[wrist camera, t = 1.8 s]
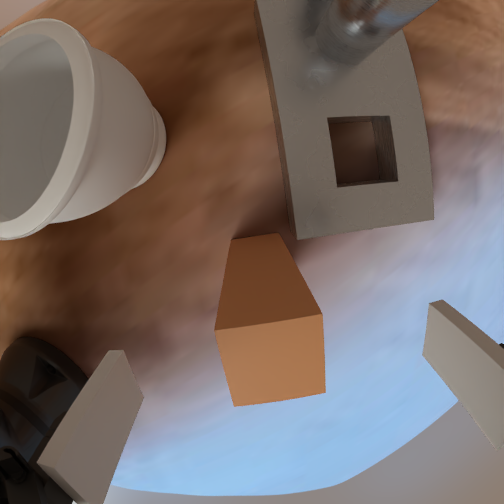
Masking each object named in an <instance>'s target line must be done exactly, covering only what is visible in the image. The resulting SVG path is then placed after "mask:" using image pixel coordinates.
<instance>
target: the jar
mask: <svg viewBox="0 0 504 504" xmlns="http://www.w3.org/2000/svg"><path fill="white" fill-rule="evenodd" d="M165 147H166V130H165V126H164V123H163V120H162V118H161V116H160V114H159V113H158V111H157V110H156V109H155V108H154V107H153V106H152V104H151V102H150V100H149V99H148V97H147V96H146V94H145V92H144V90H143V88H142V86H141V85H140V83H139V82H138V81H137V79H136V78H135V77H134V76H133V74H132V73H131V72H130V71H129V70H128V69H127V68H126V67H125V66H124V65H122V64H121V63H120V62H119V61H117V60H116V59H114V58H113V57H111V56H110V55H108V54H106V53H105V52H103V51H101V50H99V49H96V48H94V47H92V46H91V45H90V43H89V42H88V41H87V39H86V38H85V37H84V36H83V35H82V34H81V33H80V32H79V31H78V30H76V29H75V28H73V27H71V26H70V25H69V24H67V23H65V22H63V21H60V20H56V19H50V18H43V19H36V20H32V21H28V22H25V23H23V24H21V25H19V26H17V27H15V28H13V29H11V30H10V31H8V32H7V33H5V34H4V35H3V36H2V37H0V240H12V239H17V238H22V237H26V236H29V235H31V234H33V233H35V232H37V231H39V230H41V229H42V228H44V227H45V226H46V225H48V224H50V223H59V222H65V221H70V220H74V219H78V218H81V217H84V216H87V215H90V214H92V213H95V212H97V211H99V210H101V209H103V208H105V207H106V206H108V205H110V204H111V203H113V202H114V201H116V200H117V199H118V198H120V197H121V196H122V195H124V194H125V193H127V192H128V191H130V190H131V189H133V188H135V187H138V186H139V185H141V184H143V183H144V182H145V181H147V180H148V179H149V178H150V177H151V176H152V175H153V174H154V172H155V171H156V170H157V168H158V167H159V165H160V163H161V161H162V158H163V156H164V152H165Z"/></svg>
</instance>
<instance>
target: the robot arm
mask: <svg viewBox="0 0 504 504" xmlns="http://www.w3.org/2000/svg"><path fill="white" fill-rule="evenodd" d="M422 355H423V357H424V358H425V359H426V360H427V361H428V363H429V364H430V365H431V366H432V367H433V369H434V370H435V371H436V372H437V374H438V375H439V376H440V377H441V378H442V380H443V381H444V382H445V383H446V385H447V386H448V387H449V388H450V390H451V391H452V392H453V394H454V395H455V396H456V397H457V399H458V400H459V401H460V402H461V404H462V405H463V406H464V408H465V409H466V410H467V412H468V413H469V414H470V416H471V417H472V418H473V420H474V421H475V422H476V424H477V425H478V426H479V428H480V429H481V430H482V432H483V433H484V435H485V436H486V437H487V439H488V440H489V441H490V443H491V444H492V446H493V447H494V449H495V450H496V451H498V450H499V449H501V448H502V447H504V344H502V343H501V344H499V345H498V344H497V343H496V342H495V341H494V340H492V339H491V338H490V337H489V336H488V335H487V334H485V333H484V332H483V331H482V330H480V329H479V328H478V327H477V326H476V325H474V324H473V323H472V322H471V321H469V320H468V319H467V318H466V317H464V316H463V315H462V314H461V313H459V312H458V311H457V310H455V309H454V308H453V307H452V306H450V305H449V304H448V303H446V302H445V301H444V300H439V301H436V302H432V303H429V309H428V318H427V327H426V334H425V341H424V348H423V354H422ZM143 399H144V397H143V395H142V392H141V390H140V388H139V386H138V384H137V381H136V379H135V377H134V374H133V372H132V370H131V367H130V365H129V363H128V360H127V358H126V355H125V353H124V350H109V351H108V352H107V354H106V355H105V356H104V358H103V359H102V361H101V362H100V364H99V365H98V367H97V368H96V369H95V371H94V372H93V374H92V375H91V377H90V378H89V380H88V379H87V377H86V376H85V375H84V373H83V372H82V371H81V370H80V369H79V368H78V366H77V365H76V364H75V363H74V362H73V361H72V360H70V359H69V358H68V357H67V356H66V355H65V354H63V353H62V352H61V351H59V350H58V349H57V348H55V347H54V346H52V345H50V344H48V343H46V342H44V341H42V340H40V339H36V338H32V337H21V338H19V339H17V340H15V341H14V342H13V343H12V344H11V345H10V346H9V347H8V348H7V349H6V350H5V351H4V353H3V355H2V358H1V360H0V504H72V502H73V500H74V501H75V502H76V503H77V504H103V503H104V500H105V497H106V494H107V492H108V489H109V486H110V483H111V481H112V478H113V475H114V472H115V470H116V467H117V464H118V462H119V459H120V457H121V454H122V451H123V449H124V446H125V444H126V441H127V439H128V436H129V433H130V431H131V428H132V426H133V423H134V421H135V418H136V416H137V413H138V411H139V409H140V406H141V404H142V401H143Z"/></svg>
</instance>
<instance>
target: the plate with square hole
mask: <svg viewBox="0 0 504 504" xmlns="http://www.w3.org/2000/svg"><path fill="white" fill-rule="evenodd" d="M437 1H439V0H255V4H254V17H255V21H256V26H257V31H258V36H259V41H260V46H261V51H262V56H263V61H264V67H265V72H266V77H267V83H268V88H269V94H270V100H271V105H272V111H273V117H274V123H275V129H276V135H277V142H278V148H279V154H280V161H281V167H282V174H283V181H284V188H285V195H286V202H287V210H288V217H289V225H290V231H291V232H292V234H293V235H294V236H295V238H296V239H297V240H301V239H308V238H314V237H321V236H327V235H334V234H341V233H347V232H354V231H360V230H367V229H374V228H381V227H387V226H394V225H401V224H407V223H414V222H421V221H428V220H434V202H433V185H432V173H431V162H430V153H429V145H428V138H427V131H426V125H425V119H424V113H423V108H422V102H421V97H420V93H419V88H418V84H417V79H416V75H415V71H414V67H413V63H412V60H411V56H410V52H409V49H408V45H407V42H406V39H405V36H404V33H403V30H402V28H403V27H404V26H406V25H407V24H408V23H410V22H411V21H412V20H413V19H415V18H416V17H417V16H419V15H420V14H421V13H422V12H424V11H425V10H426V9H428V8H429V7H430V6H432V5H433V4H434V3H436V2H437ZM347 122H372V124H373V130H374V137H375V144H376V151H377V158H378V167H379V175H380V180H371V181H360V182H351V183H342V184H337V183H336V175H335V167H334V160H333V153H332V146H331V139H330V133H329V127H328V124H330V123H347Z"/></svg>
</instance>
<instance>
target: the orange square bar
mask: <svg viewBox="0 0 504 504" xmlns="http://www.w3.org/2000/svg"><path fill="white" fill-rule="evenodd" d="M214 332H215V336H216V340H217V344H218V348H219V352H220V356H221V360H222V364H223V367H224V371H225V375H226V379H227V383H228V386H229V390H230V394H231V397H232V401H233V405H234V407H235V406H245V405H254V404H261V403H269V402H276V401H282V400H289V399H295V398H300V397H306V396H311V395H316V394H321V393H326V388H325V355H324V333H323V315H322V312H321V310H320V308H319V306H318V304H317V303H316V301H315V299H314V297H313V295H312V293H311V291H310V289H309V288H308V286H307V284H306V282H305V280H304V278H303V276H302V275H301V273H300V271H299V269H298V267H297V265H296V263H295V262H294V260H293V258H292V256H291V254H290V252H289V251H288V249H287V247H286V245H285V243H284V242H283V240H282V238H281V236H280V234H279V233H272V234H266V235H259V236H253V237H246V238H240V239H233V240H231V243H230V248H229V253H228V258H227V264H226V269H225V274H224V280H223V285H222V290H221V296H220V301H219V307H218V312H217V318H216V323H215V329H214Z"/></svg>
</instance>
